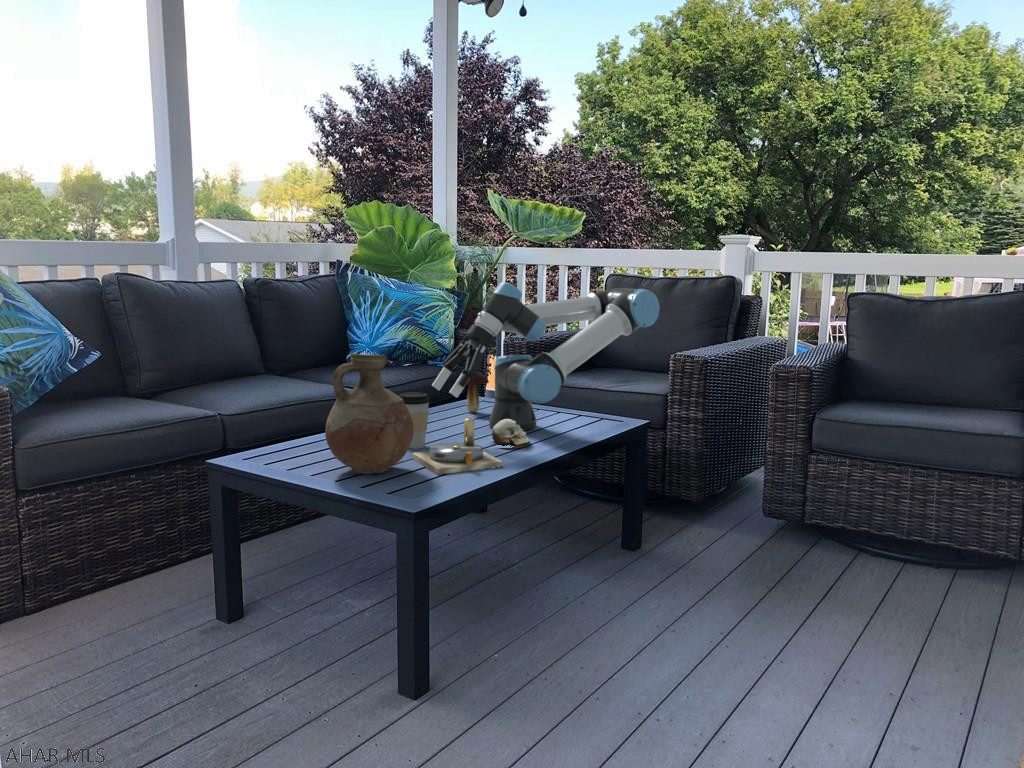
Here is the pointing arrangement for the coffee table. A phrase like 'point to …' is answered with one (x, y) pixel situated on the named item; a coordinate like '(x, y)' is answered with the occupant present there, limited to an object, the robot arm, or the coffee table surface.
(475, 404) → the decorative mushroom
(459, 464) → the base plate
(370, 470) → the jug
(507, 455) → the coffee table surface
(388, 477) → the coffee table surface
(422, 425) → the coffee cup
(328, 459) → the coffee table surface
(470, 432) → the turntable
